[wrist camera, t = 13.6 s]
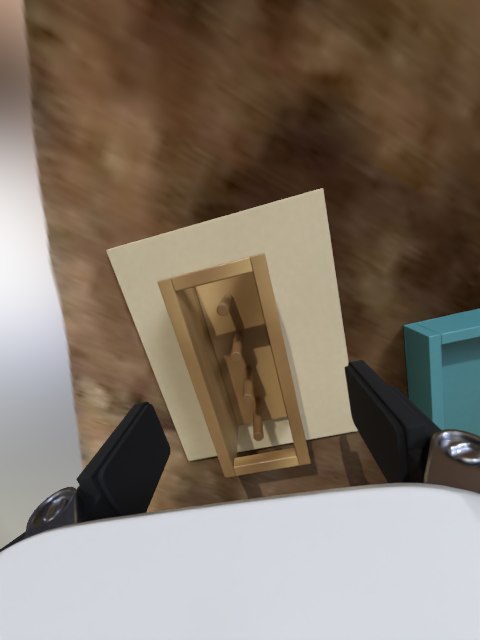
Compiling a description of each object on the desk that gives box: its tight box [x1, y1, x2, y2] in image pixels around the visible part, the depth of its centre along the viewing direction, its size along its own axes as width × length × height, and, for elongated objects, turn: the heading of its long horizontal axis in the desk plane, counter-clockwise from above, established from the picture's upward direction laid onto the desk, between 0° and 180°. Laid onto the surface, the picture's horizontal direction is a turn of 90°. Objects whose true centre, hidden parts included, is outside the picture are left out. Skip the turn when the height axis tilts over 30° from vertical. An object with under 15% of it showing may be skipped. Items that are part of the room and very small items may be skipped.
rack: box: [157, 253, 311, 477], centre depth 16 cm, size 6×14×5 cm, turn 14°
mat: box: [106, 188, 358, 461], centre depth 19 cm, size 16×20×1 cm
